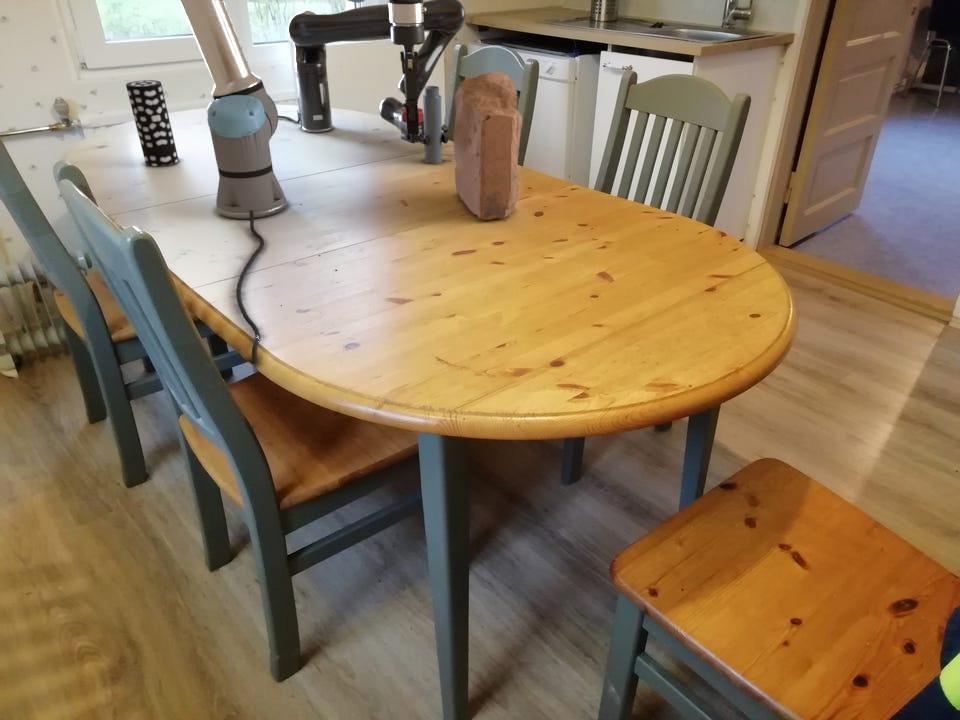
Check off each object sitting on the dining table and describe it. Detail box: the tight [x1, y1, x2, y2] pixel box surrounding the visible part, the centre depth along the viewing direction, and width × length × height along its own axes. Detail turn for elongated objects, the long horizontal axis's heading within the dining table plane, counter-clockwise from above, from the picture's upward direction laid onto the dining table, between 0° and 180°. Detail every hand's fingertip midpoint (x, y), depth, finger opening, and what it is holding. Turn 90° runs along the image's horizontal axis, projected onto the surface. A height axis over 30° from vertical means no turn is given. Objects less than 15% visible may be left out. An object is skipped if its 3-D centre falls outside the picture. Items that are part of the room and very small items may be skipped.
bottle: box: [422, 85, 443, 165], centre depth 185 cm, size 5×5×19 cm
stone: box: [453, 71, 523, 221], centre depth 154 cm, size 22×11×28 cm, turn 18°
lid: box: [401, 107, 424, 123], centre depth 164 cm, size 5×5×2 cm
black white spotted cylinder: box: [125, 79, 179, 167], centre depth 181 cm, size 8×8×20 cm
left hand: (412, 130), depth 166 cm, fingers closed on lid, 5 cm apart
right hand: (436, 140), depth 184 cm, fingers closed on bottle, 5 cm apart
